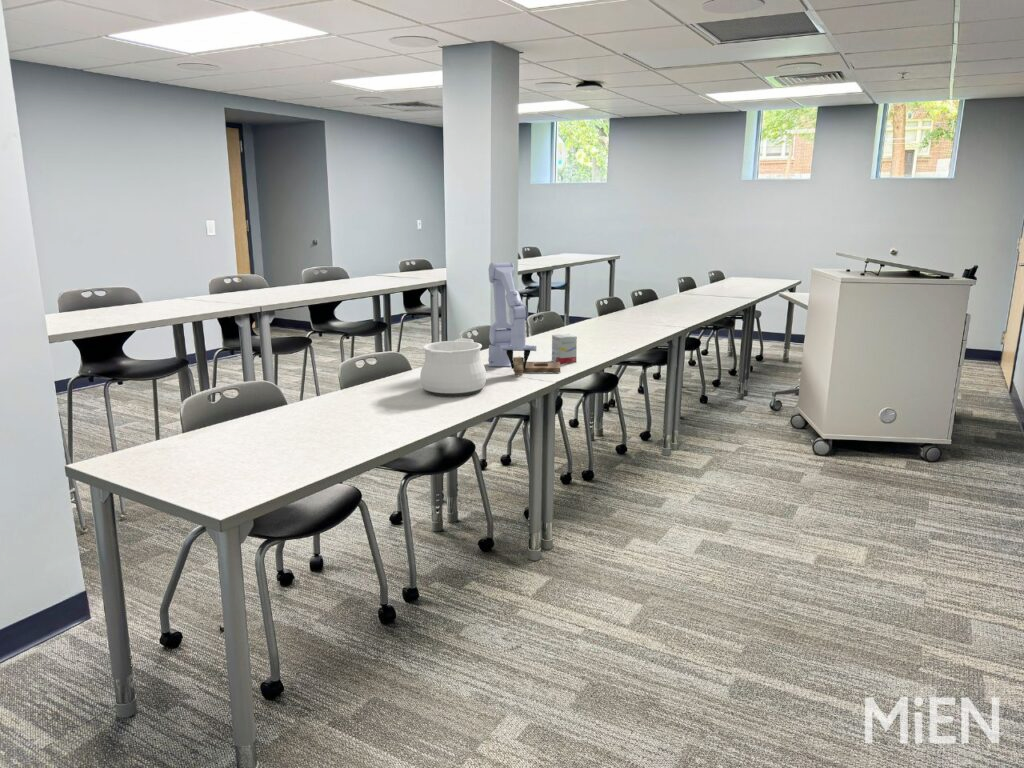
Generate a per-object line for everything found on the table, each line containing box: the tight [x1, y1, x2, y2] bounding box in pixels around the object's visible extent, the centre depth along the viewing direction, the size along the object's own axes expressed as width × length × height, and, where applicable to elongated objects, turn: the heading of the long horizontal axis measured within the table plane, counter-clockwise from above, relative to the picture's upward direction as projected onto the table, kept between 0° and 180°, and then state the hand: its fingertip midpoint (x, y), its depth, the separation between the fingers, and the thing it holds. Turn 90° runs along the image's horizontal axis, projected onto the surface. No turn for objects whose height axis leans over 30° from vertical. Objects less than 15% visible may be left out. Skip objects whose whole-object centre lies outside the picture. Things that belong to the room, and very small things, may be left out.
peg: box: [512, 356, 524, 376], centre depth 291 cm, size 4×4×7 cm
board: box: [523, 361, 561, 373], centre depth 301 cm, size 16×13×2 cm
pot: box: [419, 338, 487, 398], centre depth 265 cm, size 28×24×17 cm
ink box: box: [551, 333, 578, 365], centre depth 316 cm, size 9×9×12 cm
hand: (518, 368), depth 291 cm, fingers open, 4 cm apart
